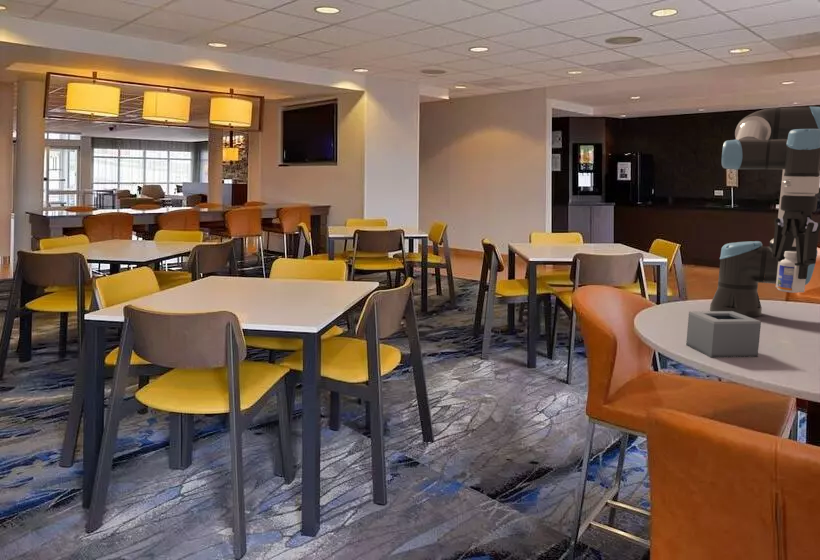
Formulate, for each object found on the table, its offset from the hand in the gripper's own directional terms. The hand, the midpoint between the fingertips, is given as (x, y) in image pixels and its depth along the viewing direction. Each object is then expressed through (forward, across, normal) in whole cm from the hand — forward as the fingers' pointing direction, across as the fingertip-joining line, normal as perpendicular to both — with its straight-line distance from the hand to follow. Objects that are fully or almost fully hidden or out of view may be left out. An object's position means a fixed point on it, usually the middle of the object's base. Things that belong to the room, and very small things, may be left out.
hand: (789, 289), depth 163 cm
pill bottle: (+1, 0, 0) cm, 1 cm away
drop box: (+16, -4, -14) cm, 22 cm away
